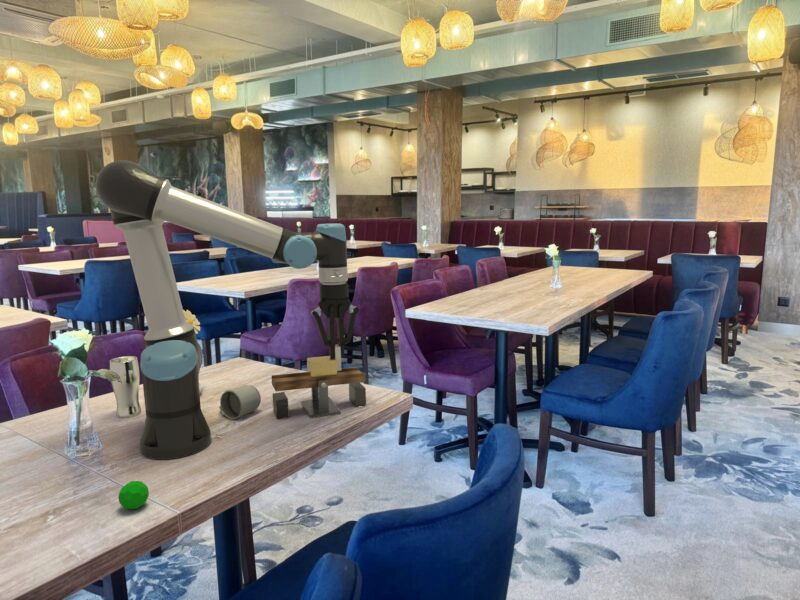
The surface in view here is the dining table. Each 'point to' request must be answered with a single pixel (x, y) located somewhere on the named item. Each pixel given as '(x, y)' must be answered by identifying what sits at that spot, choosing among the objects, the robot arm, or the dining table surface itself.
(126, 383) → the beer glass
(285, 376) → the beam
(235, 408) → the ceramic mug
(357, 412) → the dining table surface
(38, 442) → the dining table surface
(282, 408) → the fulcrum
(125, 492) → the polyhedron
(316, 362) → the block
